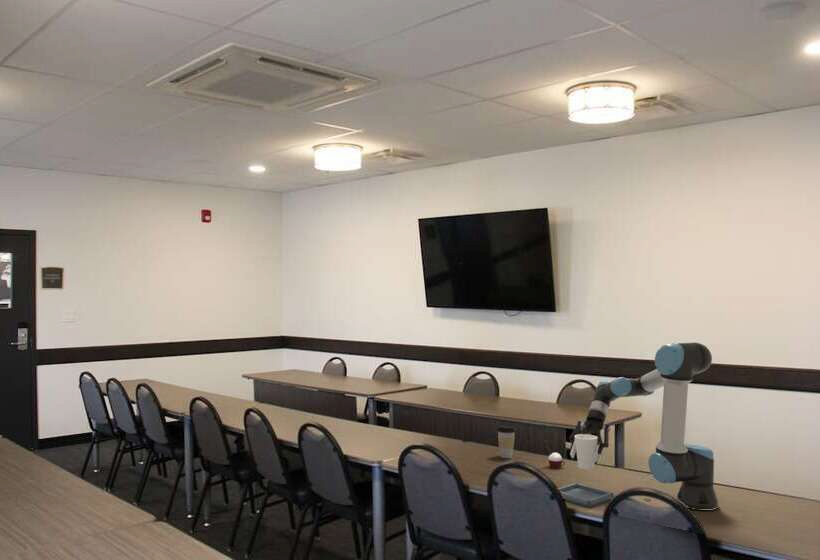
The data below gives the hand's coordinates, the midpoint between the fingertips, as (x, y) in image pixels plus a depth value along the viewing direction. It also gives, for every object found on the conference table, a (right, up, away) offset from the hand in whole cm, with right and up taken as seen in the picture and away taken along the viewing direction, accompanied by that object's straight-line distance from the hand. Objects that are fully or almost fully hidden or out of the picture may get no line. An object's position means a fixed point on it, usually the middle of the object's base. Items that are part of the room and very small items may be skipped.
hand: (583, 458), depth 284 cm
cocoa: (-4, -15, +39) cm, 42 cm away
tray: (-2, -14, -6) cm, 16 cm away
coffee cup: (-24, -14, +57) cm, 64 cm away
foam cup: (+2, -5, +3) cm, 6 cm away
